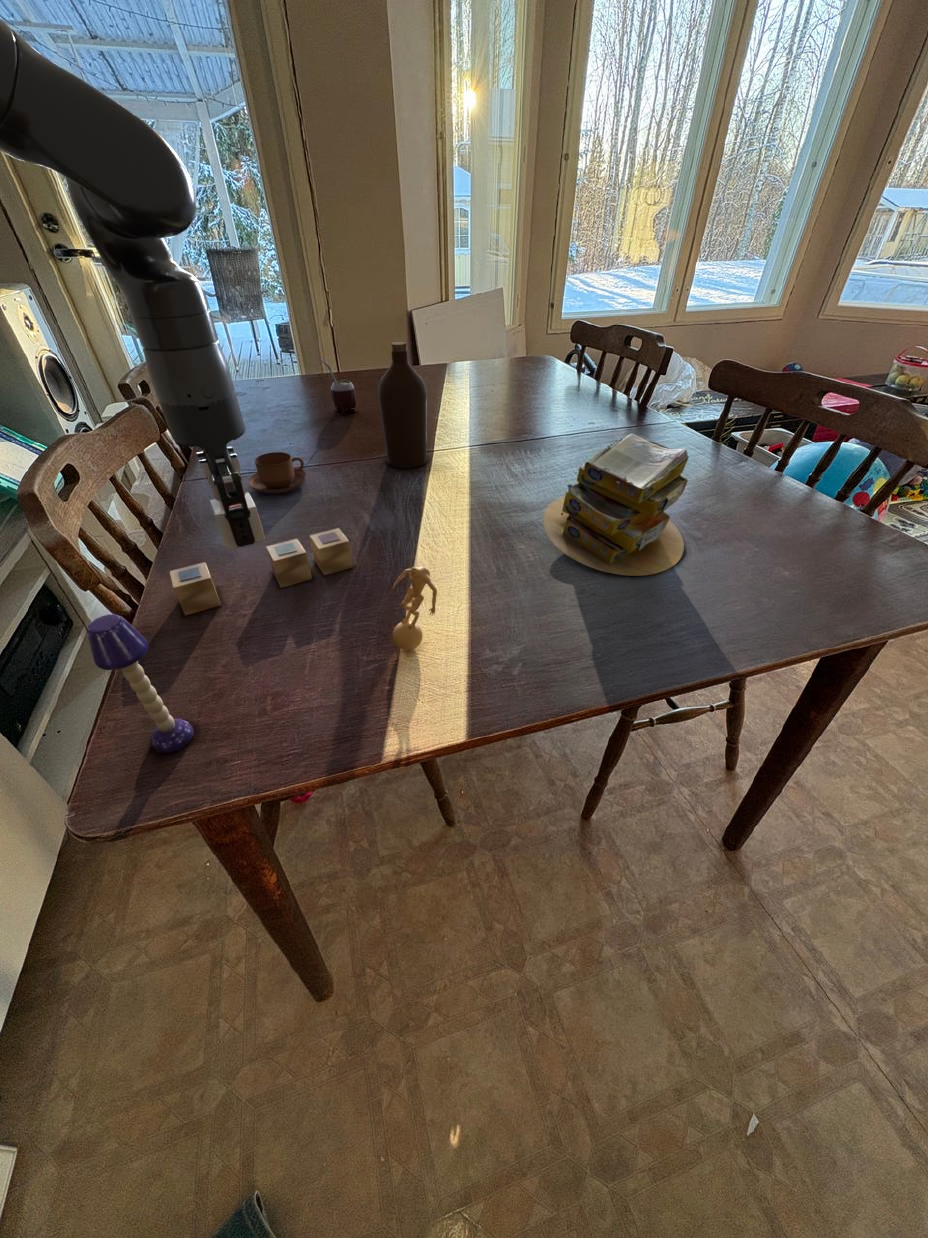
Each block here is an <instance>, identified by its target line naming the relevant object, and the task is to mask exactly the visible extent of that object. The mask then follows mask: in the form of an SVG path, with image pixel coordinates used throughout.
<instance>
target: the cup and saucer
mask: <svg viewBox="0 0 928 1238" xmlns="http://www.w3.org/2000/svg"><path fill="white" fill-rule="evenodd" d="M297 461H298V462H300V466H299V467H294V464H293V463H294V462H297ZM254 464H255V465H254V466H255V468H256V471H257V472H256V473H254V474H252V475H251V476H250V477H249V479H248V480H247V483H248V485H249V487H250V488H251V489H253V490H254V491H256V492H259V493H263V494H282V493H287V492H290V491H293V490H295V489H298V488H299V487H301V486H302V485H303V484H304V483H305V482H306V480H307V478H308V477H307V473H306V471H304V470H303V468H304V466H305V462H304V460H303V459H302V458H301V457H299V456H297V457H296V456H295V457H292V456H291V454H290V453H288V452H284V451H283V452H282V451H273V452H265V453H262V454H260V455H258V456H256V457H255V459H254Z"/></svg>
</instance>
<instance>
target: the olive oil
mask: <svg viewBox="0 0 928 1238" xmlns="http://www.w3.org/2000/svg"><path fill="white" fill-rule="evenodd" d="M390 346H391V351H390V353H391V360H392V361H391V365H390V366H389V367H388V369H387V370H386V371H385V373H384V374H383V375H382V377H381V379H380V381H379V382H378V388H377V397H378V403H379V404H378V405H379V410H380V416H381V417H380V418H381V423H382V424H381V425H382V431H383V437H384V443H385V444H384V445H385V452H386V460H387V463H388V464H389V465H390V466H391V467H394V468H399V469H413V468H418V467H421V466H423V465H425V464H426V463H427V462H428V393H427V387H426V384H425V381H424V379H423V378H422V376H421V375H420V374H419V373H418V372H417V371H416V370H415V368H413V367H412V365H411V364H410V363H409V357H408V356H409V354H408V353H409V352H408V350H407V347H408V346H407V342H405V341H393V342H391V343H390Z"/></svg>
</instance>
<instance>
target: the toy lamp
mask: <svg viewBox="0 0 928 1238" xmlns="http://www.w3.org/2000/svg"><path fill="white" fill-rule="evenodd" d="M86 634H87V638H88V642H89V647H90V652H91V655H92V659H93V662H94V664H95V665H96V666H97V667H98V668H99V669H101V670H103V671H116V670H117V671H118V670H122V674H123V677H124V678H125V679H126V681H128V682H129V686H130V688H131V689H132V690H133V691H134V692H135V694H136V697H137V699H138V700H139V702H141V703H142V706H143V708H144V710H145V711H147V712H148V714H149V717H150V719H151V720H152V721H153V722H155V726H156V727H155V729H154V731H153V733H152V735H151V745H152V748H153V749H154V750H155V751H156V752H158V753H161V754H170V753H174V752H176V751H179V750H181V749H182V748H184V747H185V746H186V745H187V744H188V743H189V742H190V741H191V739H192V738H193V736H194V733H195V732H194V728H193V727H194V726H193V725H192V724H191V723H189V722H188V721H187V720H185V719H181V718H173V716H172V715H171V714H170V712H169V710H168V708H167V706H166V705H164V702H163V701H164V700H163V699H162V698H161V696H160V695H158V693H157V692H158V691H157V690H156V688H155V687H154V686H153V685H152V684H151V680H150V678H149V677H148V676H147V675H146V674H145V670H144V668H143V666H141V665H140V664H139V661H140V660H141V659H142V658H143V657H144V656H146V654H147V652H148V650H149V642H148V639H146V637H145V636H144V635H143V634H141V633H140V632H139V631H138V630H137V629H136V628H135V627H134V626H133V625H132V624H131V623H130V622H128V621H127V620H126V619H125V618H124V617H123V616H121V615H119V614H115V613H112V614H111V613H110V614H104V615H101V616H99V617H96V618H95V619H94V620H92V621H91V622H90V623H88V625H87V628H86Z"/></svg>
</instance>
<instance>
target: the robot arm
mask: <svg viewBox="0 0 928 1238" xmlns="http://www.w3.org/2000/svg"><path fill="white" fill-rule="evenodd" d="M175 151H176V150H174V149H173V148H172V146H171V145H170V144H169V143H168V142H167V141H166V140H165V139H164V138H163V136H161V134H159V132H157V131H156V130H155V129H154V128H152V126H150V125H149V124H148V123H146V122H145V120H142V119H141V118H140V117H138V115H136V114H135V113H133V112H132V111H131V110H128V109H127V108H126V107H124V106H123V105H122V104H120V103H118V101H115V100H114V99H112V98H111V97H110V96H107V95H106V94H105V93H103V92H102V91H100V90H99V89H97V88H96V87H95V86H93V85H91V84H90V83H88V82H86V81H85V80H83V79H82V78H81V77H79V76H77V75H75V74H73V73H71V72H70V71H68V70H67V69H65V68H63V67H62V66H60V65H59V64H57V63H54V62H53V61H52V60H50V59H48V58H47V57H45V56H44V55H43V54H41V53H40V52H39V51H38V50H37V49H35V48H34V47H33V46H32V45H30V44H29V43H28V42H27V41H26V40H25V39H24V38H23V37H21V35H19V34H18V33H17V32H16V31H15V30H14V29H13V28H11V27H10V26H9V25H8V24H7V23H5V21H3V20H2V19H0V152H3V153H4V154H6V155H8V156H9V157H11V158H14V159H16V160H19V161H22V162H24V163H29V164H33V165H37V166H41V167H45V168H47V169H50V170H52V171H53V172H56V173H59V174H60V175H62V176H63V177H65V183H66V187H67V190H68V193H69V198H70V200H71V203H72V205H73V207H74V210H75V212H76V214H77V216H78V218H79V221H80V223H81V224H82V227H83V228H84V230H85V232H86V234H87V236H88V237H89V240H90V241H91V243H92V245H93V246H94V248H95V250H96V251H97V253H98V255H99V257H100V259H101V261H102V263H103V264H104V266H105V268H106V269H107V271H108V273H109V274H110V276H111V277H112V279H113V280H114V282H115V284H116V286H117V287H118V288H119V290H120V291H121V293H122V295H123V297H124V300H125V302H126V305H127V306H126V307H127V309H128V312H129V316H130V317H131V321H132V324H133V326H134V329H135V332H136V335H137V337H138V340H139V343H140V346H141V347H142V348H141V349H142V351H143V355H144V359H145V364H146V368H147V372H148V375H149V379H150V381H151V384H152V386H153V390H154V392H155V396H156V398H157V399H158V403H159V406H160V408H161V411H162V414H163V417H164V419H165V422H166V425H167V427H168V431H169V433H170V436H171V438H172V440H173V441H174V442H175V443H176V444H178V445H179V446H183V447H187V448H195V447H196V448H197V447H198V448H199V449H201V451H199V452H195V453H196V456H197V459H198V462H199V465H200V468H201V470H202V473H203V474H204V476H206V479H207V482H208V485H209V486H210V489H211V491H212V494H213V497H214V499H216V500H218V501H220V502H221V504H222V506H223V509H224V512H225V514H224V516H225V518H226V519H227V521H228V522H229V524H230V527H231V530H232V534H233V537H234V540H235V542H236V545H237V546H239V547H240V548H241V547H246V546H250V545H254V544H255V543H256V542H255V538H254V535H253V532H252V528H251V525H250V522H249V517H250V514H251V513H250V510H249V509H248V506H247V502H246V499H245V494H246V493H247V490H246V487H245V483H244V479H243V478H242V474H241V469H242V468H241V464H240V461H239V457H238V455H237V453H235V450H234V448H233V446H227V445H228V444H229V443H230V442H233V441H236V440H238V439H240V438H241V437H242V436H243V435H244V434H245V431H246V425H245V422H244V418H243V415H242V411H241V406H240V403H239V400H238V396H237V392H236V389H235V386H234V381H233V378H232V374H231V370H230V367H229V364H228V361H227V359H226V356H225V354H224V352H223V348H222V346H221V343H220V341H219V337H218V333H217V330H216V326H215V323H214V318H213V316H212V311H211V308H210V305H209V300H208V297H207V294H206V293H205V289H204V287H203V285H202V283H201V282H200V280H199V279H197V277H196V276H194V275H193V274H192V273H190V272H188V271H186V270H184V269H183V268H181V267H180V266H179V265H178V264H177V263H176V261H175V259H174V258H173V256H172V253H171V251H170V248H169V247H168V245H167V242H166V241H165V239H170V238H174V237H177V236H179V235H182V234H183V233H185V232H186V231H188V229H189V228H190V227H191V226H192V224H193V222H194V220H195V218H196V214H197V206H198V205H197V196H196V190H195V187H194V183H193V180H192V178H191V176H190V173H189V172H188V169H187V168H186V166H185V164H184V163H183V161H182V160H181V158H180V156H179V155H178V154H177V153H176V152H175ZM236 504H241V507H236V508H232V509H229V506H231V505H236ZM254 542H255V543H254ZM239 547H238V548H239Z"/></svg>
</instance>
